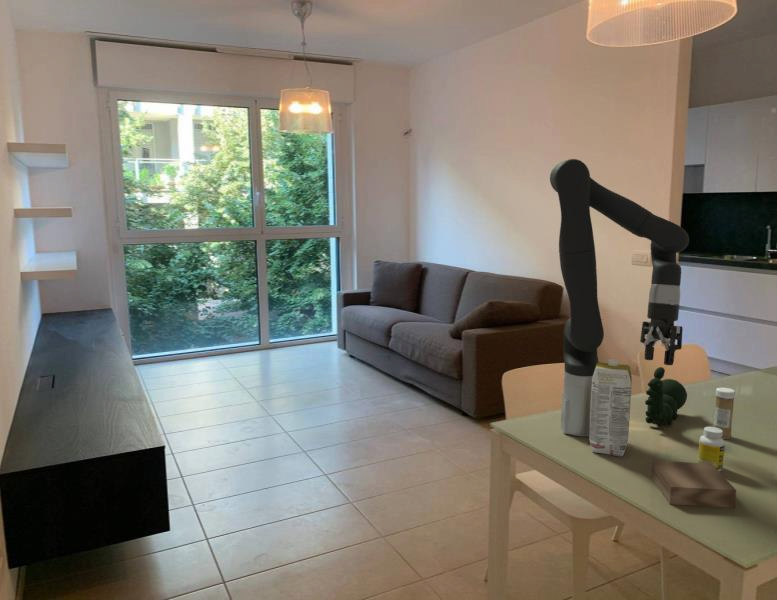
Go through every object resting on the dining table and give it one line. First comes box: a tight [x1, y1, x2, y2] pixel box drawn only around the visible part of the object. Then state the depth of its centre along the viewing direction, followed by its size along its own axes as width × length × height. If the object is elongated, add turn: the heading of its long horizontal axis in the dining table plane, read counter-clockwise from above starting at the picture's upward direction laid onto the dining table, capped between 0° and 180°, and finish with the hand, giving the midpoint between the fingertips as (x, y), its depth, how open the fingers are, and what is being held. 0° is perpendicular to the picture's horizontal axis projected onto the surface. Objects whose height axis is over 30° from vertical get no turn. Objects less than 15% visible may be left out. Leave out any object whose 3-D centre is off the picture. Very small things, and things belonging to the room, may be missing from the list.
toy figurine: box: [644, 366, 688, 427], centre depth 174 cm, size 9×19×25 cm
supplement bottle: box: [697, 426, 726, 472], centre depth 143 cm, size 5×5×10 cm
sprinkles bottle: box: [713, 387, 736, 440], centre depth 162 cm, size 5×5×13 cm
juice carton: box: [589, 358, 633, 457], centre depth 152 cm, size 9×8×24 cm
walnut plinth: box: [650, 460, 737, 509], centre depth 132 cm, size 13×13×4 cm
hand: (658, 362), depth 158 cm, fingers open, 8 cm apart
